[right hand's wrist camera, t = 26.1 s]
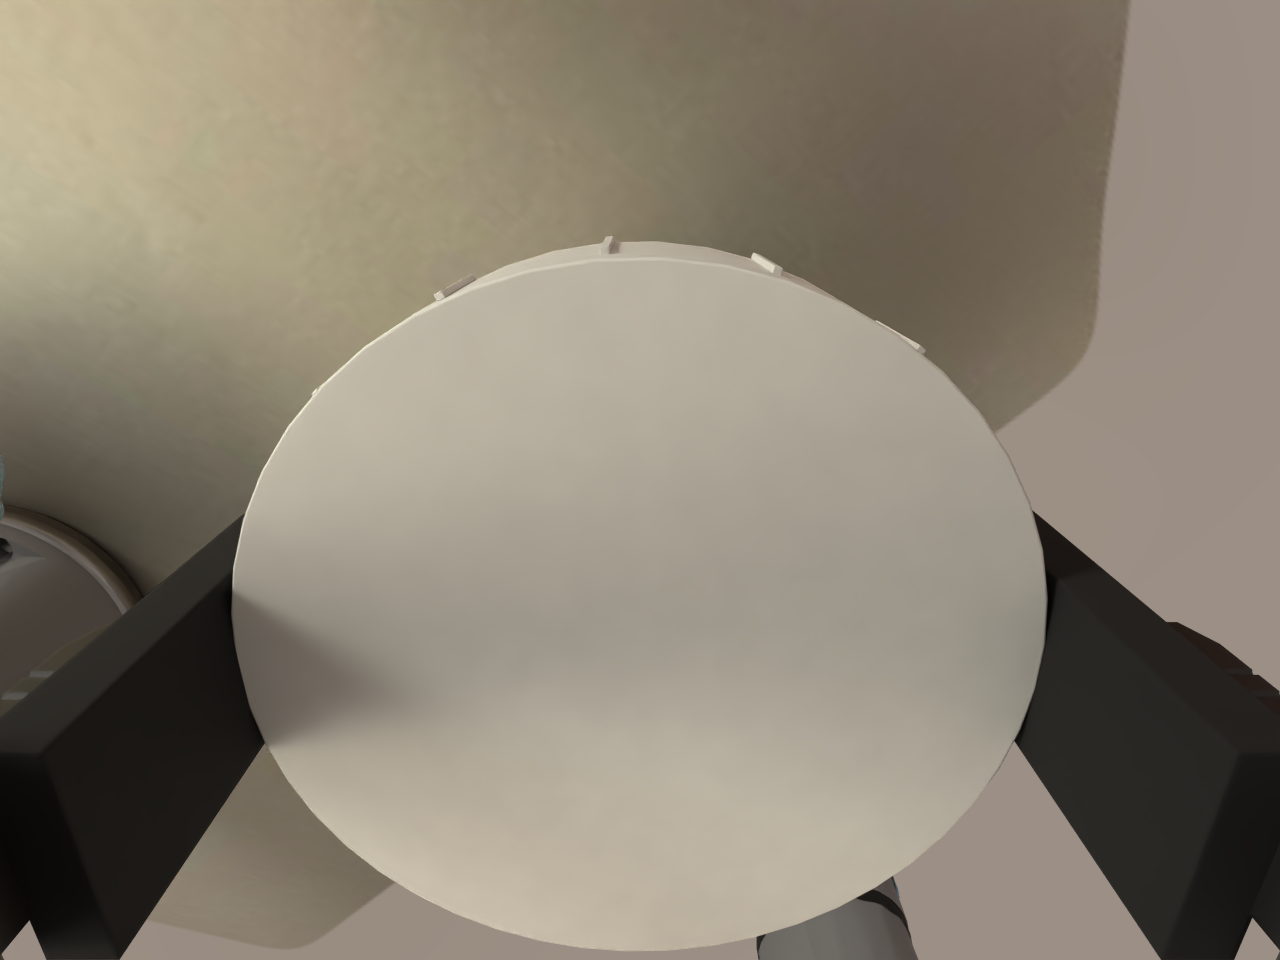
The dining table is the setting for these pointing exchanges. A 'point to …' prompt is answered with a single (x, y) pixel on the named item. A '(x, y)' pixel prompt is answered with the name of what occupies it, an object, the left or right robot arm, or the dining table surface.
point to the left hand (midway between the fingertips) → (582, 324)
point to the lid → (639, 600)
